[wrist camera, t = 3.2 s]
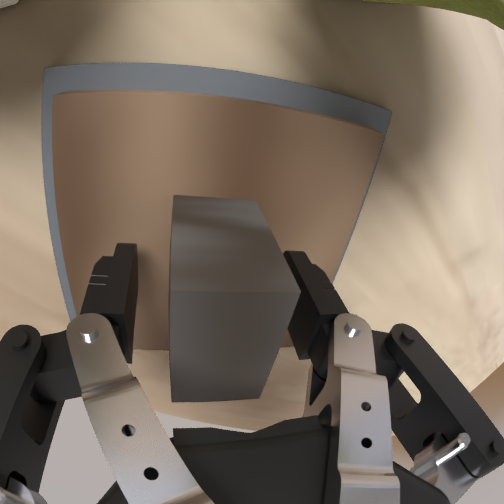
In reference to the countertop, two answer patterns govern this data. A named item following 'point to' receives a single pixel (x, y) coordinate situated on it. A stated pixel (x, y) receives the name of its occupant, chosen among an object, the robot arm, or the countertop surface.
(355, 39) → the countertop surface
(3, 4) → the bowl
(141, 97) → the lid
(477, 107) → the countertop surface
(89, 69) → the mat
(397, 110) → the countertop surface
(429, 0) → the plant pot
